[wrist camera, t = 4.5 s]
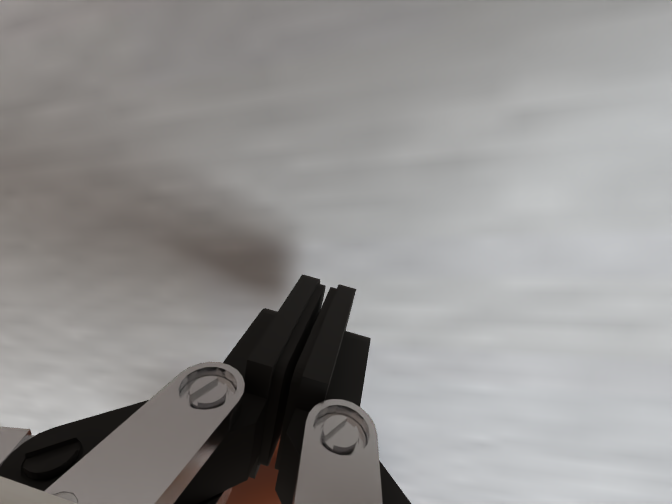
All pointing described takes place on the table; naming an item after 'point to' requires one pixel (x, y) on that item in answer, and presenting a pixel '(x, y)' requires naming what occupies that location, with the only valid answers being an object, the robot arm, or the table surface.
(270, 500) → the poop emoji
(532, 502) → the table surface
